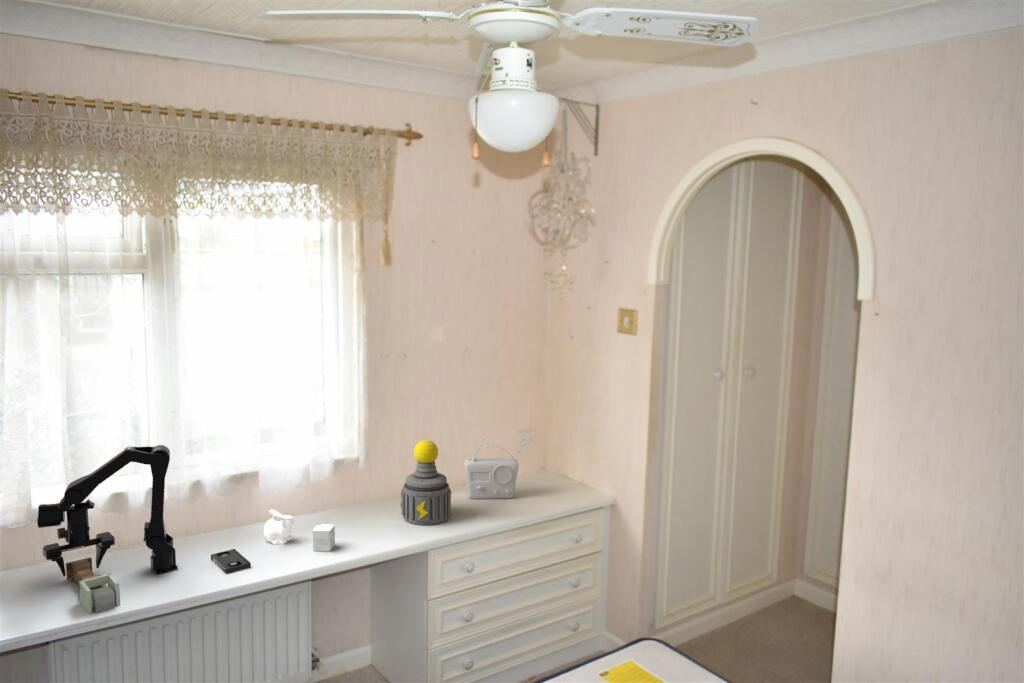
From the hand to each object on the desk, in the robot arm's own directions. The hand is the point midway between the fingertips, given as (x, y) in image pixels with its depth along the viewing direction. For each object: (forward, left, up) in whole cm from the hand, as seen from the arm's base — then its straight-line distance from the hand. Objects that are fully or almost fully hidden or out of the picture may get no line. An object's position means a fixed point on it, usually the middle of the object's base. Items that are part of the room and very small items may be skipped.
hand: (81, 572), depth 242 cm
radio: (-147, +20, -3) cm, 149 cm away
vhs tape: (-40, +17, -3) cm, 43 cm away
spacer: (0, +21, 0) cm, 21 cm away
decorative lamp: (-113, +22, -3) cm, 115 cm away
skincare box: (-69, +24, -3) cm, 73 cm away
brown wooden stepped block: (0, +7, -2) cm, 7 cm away
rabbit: (-60, +9, -3) cm, 61 cm away
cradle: (0, +19, -3) cm, 19 cm away
